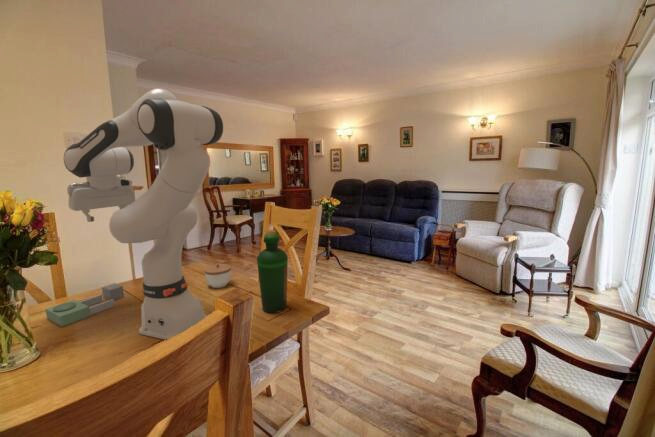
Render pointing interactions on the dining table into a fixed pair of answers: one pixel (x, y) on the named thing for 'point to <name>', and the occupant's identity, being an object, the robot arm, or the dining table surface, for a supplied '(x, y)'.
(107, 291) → the grey rectangular block
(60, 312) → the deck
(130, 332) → the dining table surface
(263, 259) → the bottle
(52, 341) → the dining table surface
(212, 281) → the lidded jar
